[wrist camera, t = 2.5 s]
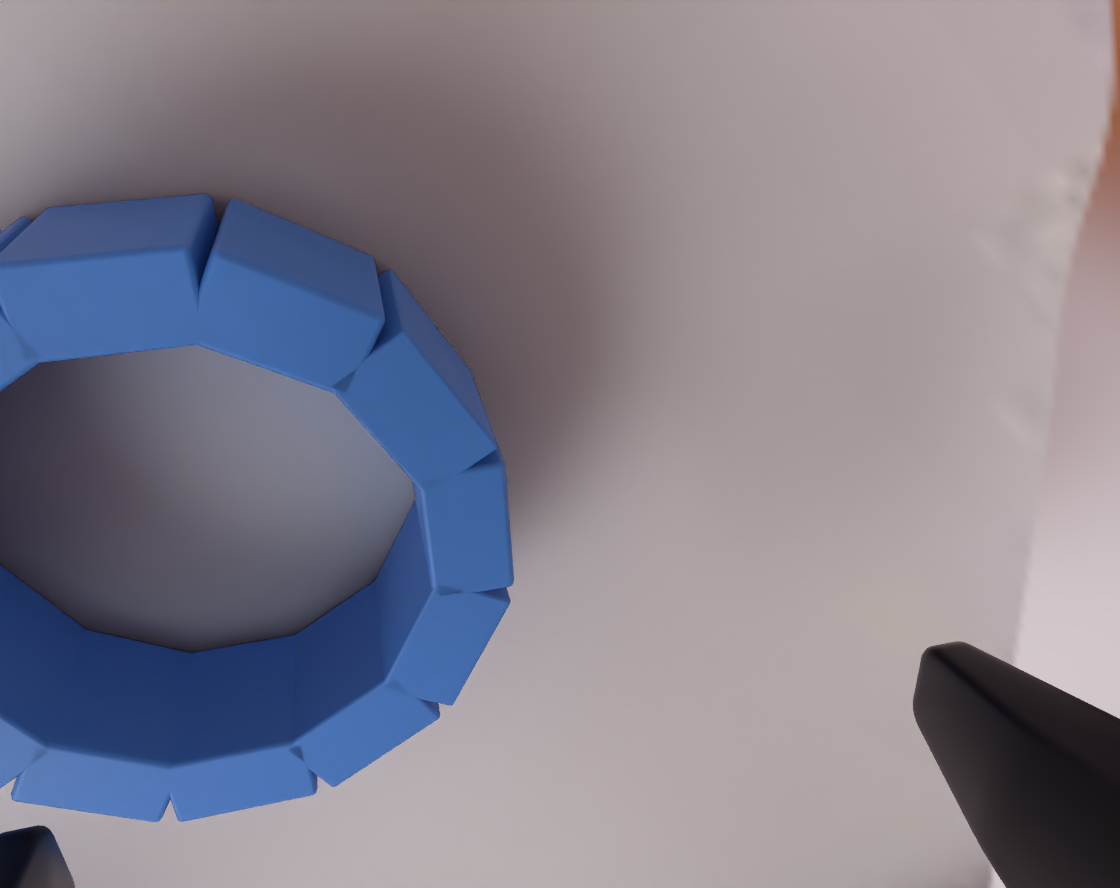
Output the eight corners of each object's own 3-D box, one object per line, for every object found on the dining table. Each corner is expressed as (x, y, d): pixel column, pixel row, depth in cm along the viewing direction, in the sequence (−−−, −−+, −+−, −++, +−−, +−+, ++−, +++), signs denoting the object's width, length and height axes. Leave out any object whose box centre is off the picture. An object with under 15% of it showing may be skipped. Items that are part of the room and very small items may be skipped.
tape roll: (458, 170, 13) (486, 215, 11) (500, 649, 17) (528, 752, 15) (-245, 232, 12) (-381, 300, 9) (-10, 742, 16) (-64, 874, 13)
